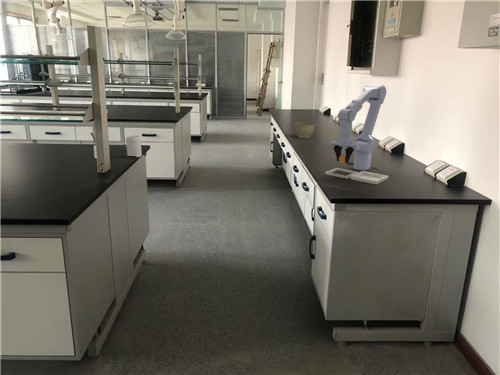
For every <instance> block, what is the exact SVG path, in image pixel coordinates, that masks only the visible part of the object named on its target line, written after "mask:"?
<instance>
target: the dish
mask: <svg viewBox="0 0 500 375" xmlns="http://www.w3.org/2000/svg"><path fill="white" fill-rule="evenodd" d="M388 179H389V175H385V174H380V173H375V172H369V171H366V170H361V171H360V172H359V171H358V173H357V174H354V175H352V176H351V177H350V180H353V181H356V182H362V183H367V184H372V185H379V184H381V183H382V182H383V183H384V181H387V180H388Z"/></svg>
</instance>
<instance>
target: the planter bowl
mask: <svg viewBox="0 0 500 375" xmlns="http://www.w3.org/2000/svg"><path fill="white" fill-rule="evenodd" d="M315 126H316V123H314V122H309V121H307V122H305V121H298V122H293V129H294V132H295V134H296V137H297V138H298V139H309V138H311V136H312V134H313V133H314V130H315Z"/></svg>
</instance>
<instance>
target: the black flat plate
mask: <svg viewBox="0 0 500 375" xmlns="http://www.w3.org/2000/svg"><path fill="white" fill-rule="evenodd" d="M345 164H346V165H347V166H354V162H350V161H349V162H348V163H345ZM370 168H371V170H377V171H382V170H380V169H379V168H376V167H373V166H371V167H370ZM370 168H369V169H370Z"/></svg>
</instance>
